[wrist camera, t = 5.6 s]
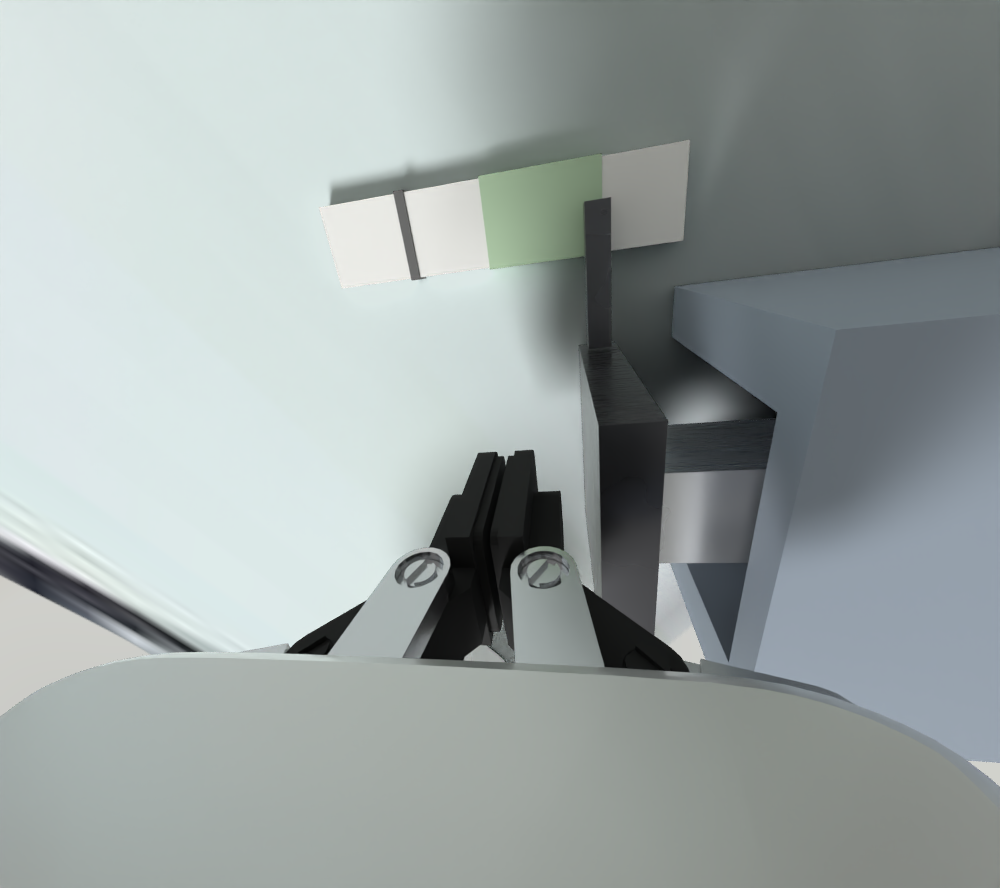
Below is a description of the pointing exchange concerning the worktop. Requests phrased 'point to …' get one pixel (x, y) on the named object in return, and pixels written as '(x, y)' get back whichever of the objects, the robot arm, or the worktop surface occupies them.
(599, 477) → the plunger
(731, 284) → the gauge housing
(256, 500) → the worktop surface
